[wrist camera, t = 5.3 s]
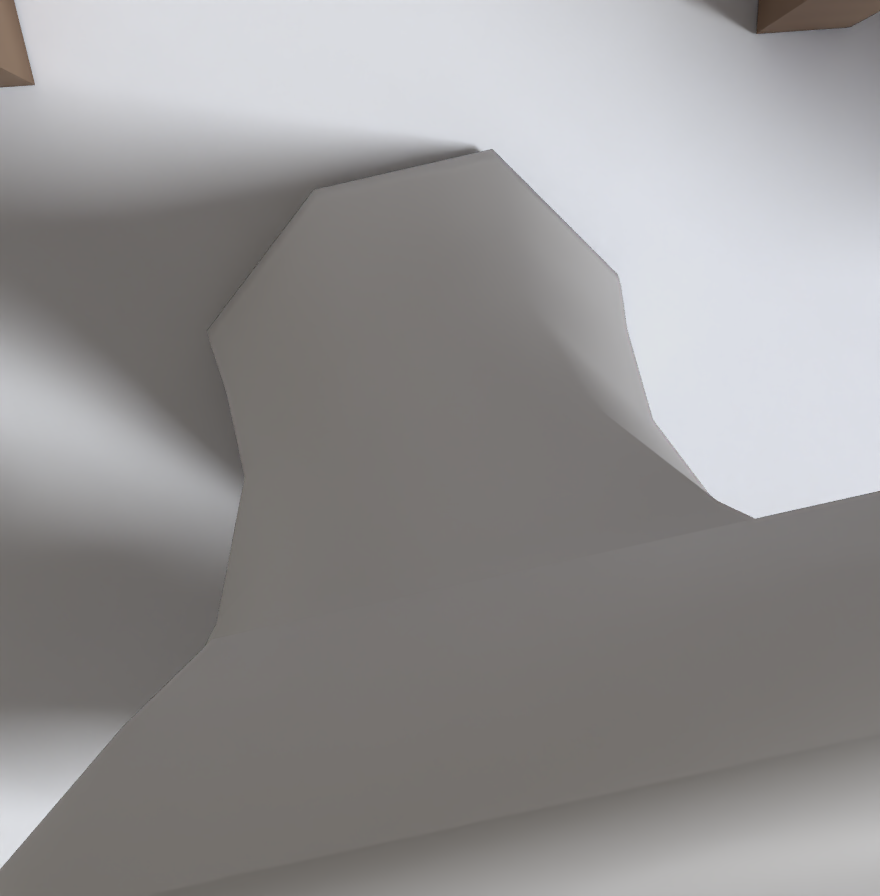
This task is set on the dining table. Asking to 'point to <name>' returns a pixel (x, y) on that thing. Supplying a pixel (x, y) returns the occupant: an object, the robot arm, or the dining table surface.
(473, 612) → the flask
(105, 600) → the dining table surface
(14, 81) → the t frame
